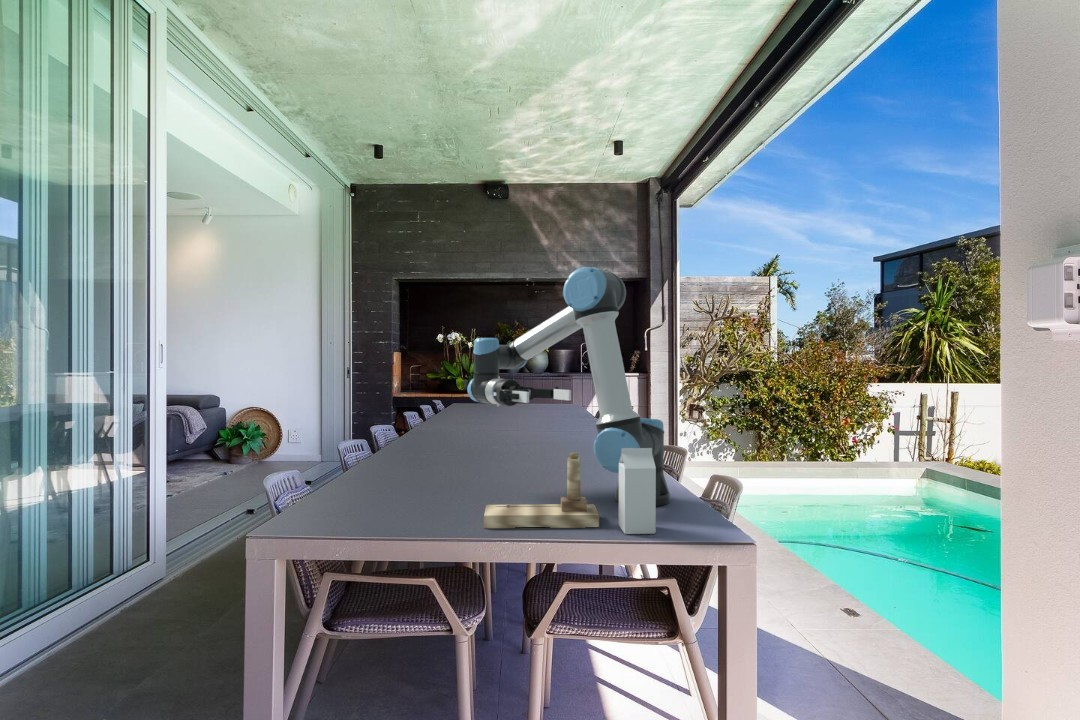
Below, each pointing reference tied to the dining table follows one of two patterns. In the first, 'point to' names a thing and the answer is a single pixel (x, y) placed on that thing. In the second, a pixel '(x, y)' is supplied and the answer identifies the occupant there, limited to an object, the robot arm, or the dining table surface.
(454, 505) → the dining table surface
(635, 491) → the milk carton
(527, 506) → the oak plank
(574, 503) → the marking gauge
